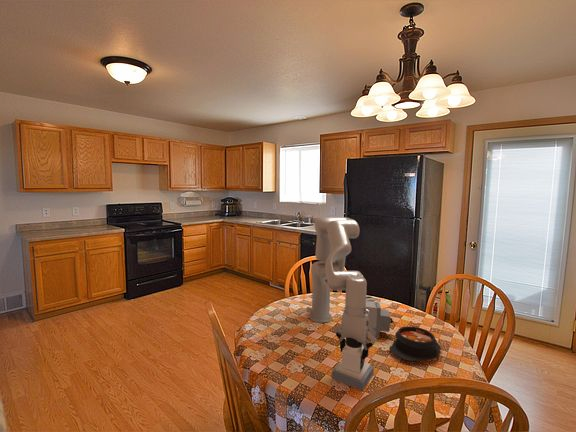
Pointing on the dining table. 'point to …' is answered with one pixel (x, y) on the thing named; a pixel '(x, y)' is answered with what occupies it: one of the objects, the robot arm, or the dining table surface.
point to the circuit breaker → (378, 319)
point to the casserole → (415, 344)
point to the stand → (353, 375)
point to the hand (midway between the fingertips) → (353, 353)
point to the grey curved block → (370, 298)
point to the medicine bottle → (352, 355)
